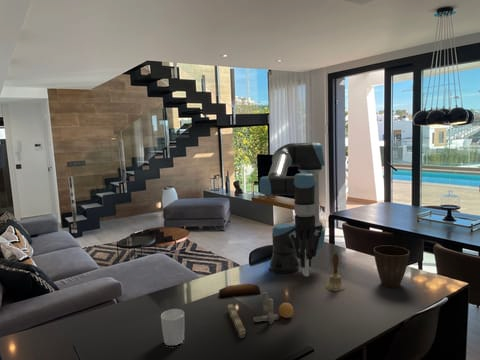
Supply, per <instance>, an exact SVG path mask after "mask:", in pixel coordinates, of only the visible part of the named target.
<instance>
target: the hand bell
mask: <svg viewBox="0 0 480 360" xmlns="http://www.w3.org/2000/svg"><path fill="white" fill-rule="evenodd" d="M339 261H340V260H339V256H338V252H334V253H333V257H332V265H333V273H332V274H330V276H329V280H328V282H327V284H326V285H325V288H326V289H327V290H329V291H331V292H342V291H344V290H345V287H346V286H345V285H344V284H343V283H342V279H341V275H339V274H338V266H339Z"/></svg>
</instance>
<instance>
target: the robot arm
mask: <svg viewBox="0 0 480 360" xmlns="http://www.w3.org/2000/svg"><path fill="white" fill-rule="evenodd" d="M324 157H325V156H324V149H323V145H322V143H320V142H313V141H312V142H292V143H291V142H290V143H287V144H284V145H282V146H281V147H279V148H278V149H276V151H275V152H273V154H272V157H271V162H272V164H271V166H270V168H269V172H268V175H266V176H261V177H260V179H259V192H260V194H261V195H263V196H264V195H267V196H282V195H283V196H287V195H288V196H294V214H295V215H294V222H283V223H279V224H276V225H274V226H273V227H272V230H271V231H272V233H271V238H272V256H271V259H270V262H269V269H270V271H273V272H275V273H279V274H290V273H291V274H292V273H295V272H297V271H299V269H300V267H301V268H302V275H303V276H304V277H310V268H311V267H312V259H313V258H315V257H316V256H317V252H318V251H320V250H322V249H323V248H324V245H325V244H324V243H325V235H326V227H325V226H323V222H322V221H321V220H320V172H321V171H322V169H323V167H325V165H326V163H325V158H324ZM290 167H298V168H297V169H298V171H299V173H296V174H295V175H291V176H289V175H287V173H288V168H290ZM299 260H300V261H299ZM299 263H300V264H299Z"/></svg>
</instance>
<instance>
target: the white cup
mask: <svg viewBox="0 0 480 360" xmlns="http://www.w3.org/2000/svg"><path fill="white" fill-rule="evenodd" d="M160 320H161V321H160V322H161V330H162V336H163V343H165V344H166V345H169V346H170V345H172V346H173V345H178V344H180V343H182V342H183V340H184V341H185V312H184V310H183V309H180V308H172V309H168V310H165V311H163V312H162V313H161V314H160ZM183 343H184V342H183ZM183 343H182V344H183ZM165 344H164V345H165ZM166 345H165V346H166Z"/></svg>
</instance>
